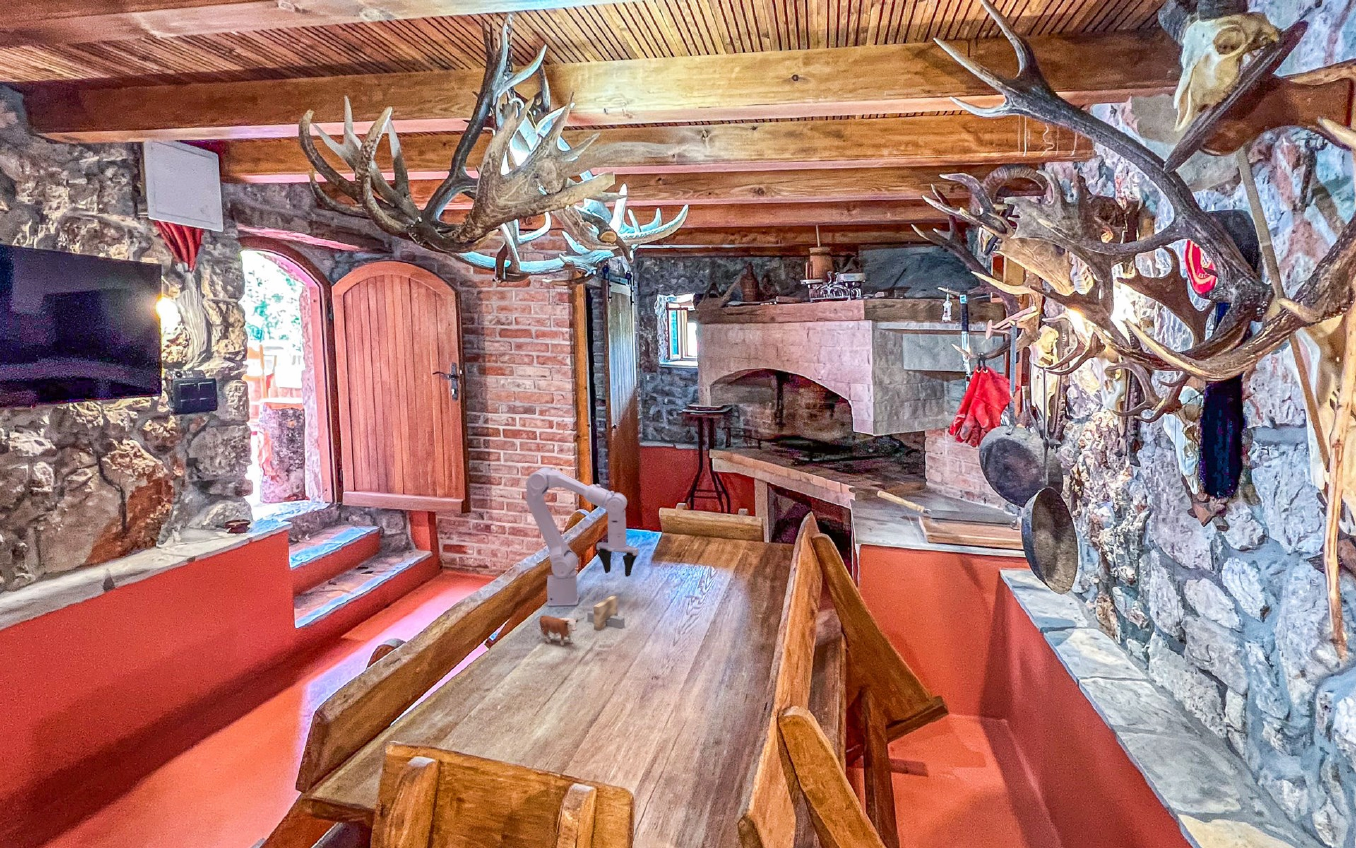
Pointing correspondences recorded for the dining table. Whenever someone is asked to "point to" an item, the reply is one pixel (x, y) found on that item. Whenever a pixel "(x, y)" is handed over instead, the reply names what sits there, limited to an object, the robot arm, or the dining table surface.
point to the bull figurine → (557, 627)
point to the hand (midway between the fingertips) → (617, 574)
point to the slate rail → (608, 620)
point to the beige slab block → (604, 611)
